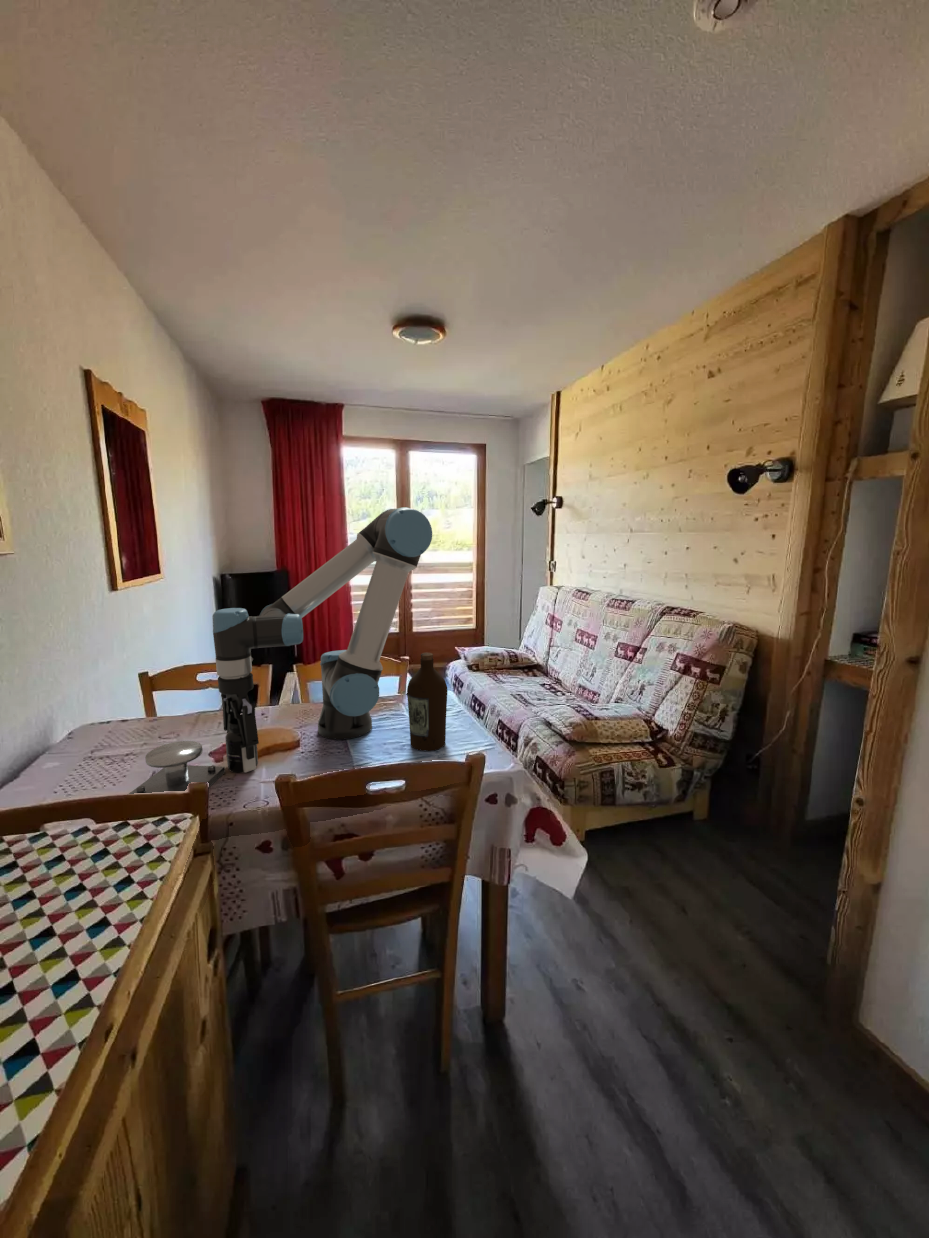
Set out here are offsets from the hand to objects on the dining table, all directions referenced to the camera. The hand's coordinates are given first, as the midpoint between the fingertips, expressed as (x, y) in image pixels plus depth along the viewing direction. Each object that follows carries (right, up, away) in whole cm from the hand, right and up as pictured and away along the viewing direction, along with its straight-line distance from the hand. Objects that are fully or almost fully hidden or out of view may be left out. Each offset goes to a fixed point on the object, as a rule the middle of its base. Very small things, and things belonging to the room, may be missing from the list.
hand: (243, 764), depth 122 cm
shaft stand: (-11, -2, -9) cm, 14 cm away
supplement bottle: (0, -1, 0) cm, 1 cm away
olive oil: (+44, +2, +13) cm, 46 cm away
